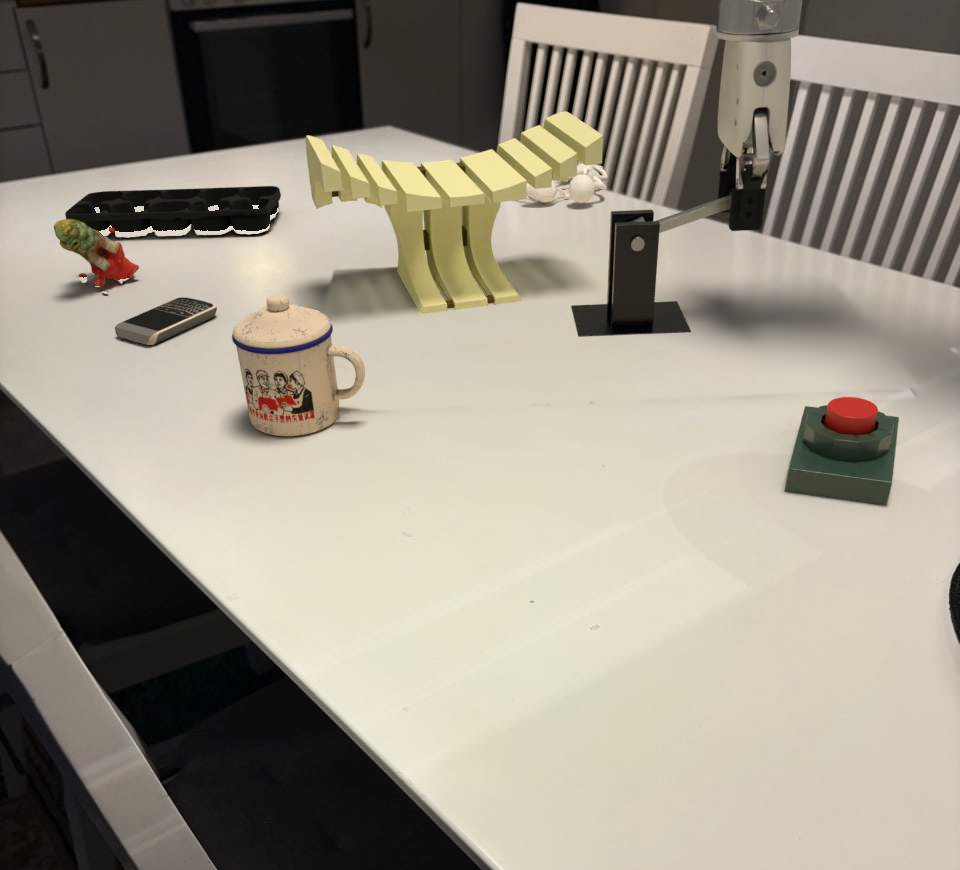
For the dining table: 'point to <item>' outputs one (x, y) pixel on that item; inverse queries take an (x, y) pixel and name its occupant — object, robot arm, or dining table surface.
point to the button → (851, 416)
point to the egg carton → (179, 209)
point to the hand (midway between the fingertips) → (738, 218)
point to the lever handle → (694, 212)
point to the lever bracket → (631, 284)
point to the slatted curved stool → (454, 204)
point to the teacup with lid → (291, 368)
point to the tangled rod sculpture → (574, 185)
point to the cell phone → (165, 320)
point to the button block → (843, 460)
